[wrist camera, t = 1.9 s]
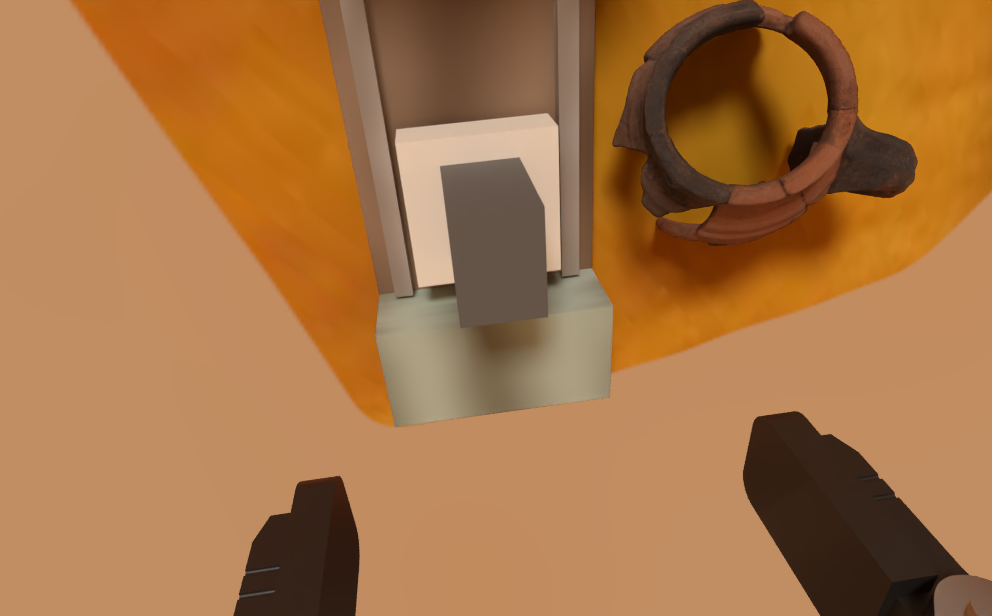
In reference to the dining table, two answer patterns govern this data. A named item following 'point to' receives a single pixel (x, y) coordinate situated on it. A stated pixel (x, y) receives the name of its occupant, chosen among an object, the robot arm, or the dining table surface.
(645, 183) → the pottery mug
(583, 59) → the rail base
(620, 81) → the dining table surface
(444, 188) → the carriage
